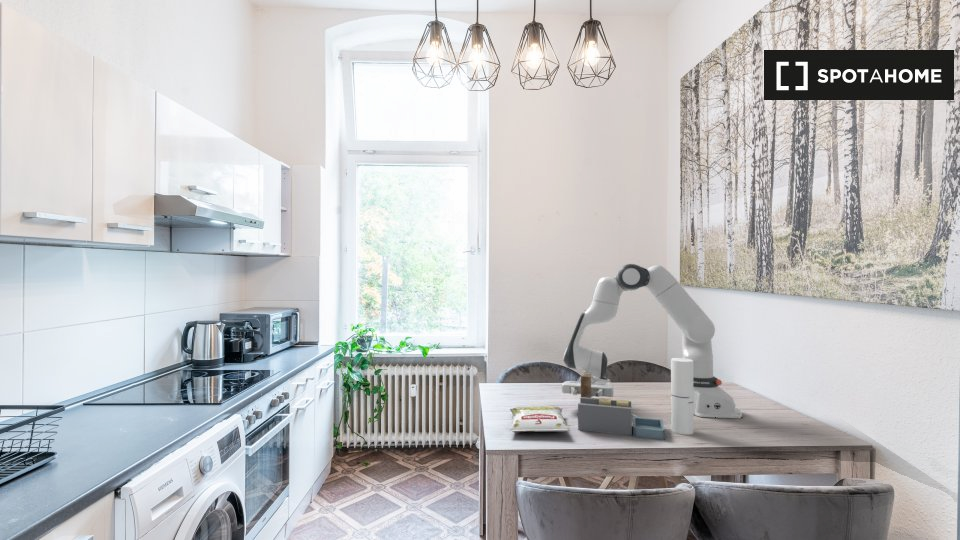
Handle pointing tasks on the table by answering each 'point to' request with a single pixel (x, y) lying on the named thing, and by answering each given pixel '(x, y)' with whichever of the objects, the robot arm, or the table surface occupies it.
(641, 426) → the tray
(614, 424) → the channel
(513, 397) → the table surface
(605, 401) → the tan cube
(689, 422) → the cylindrical container
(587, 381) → the tall wooden post
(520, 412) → the frozen beans
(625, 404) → the tan wooden cube
